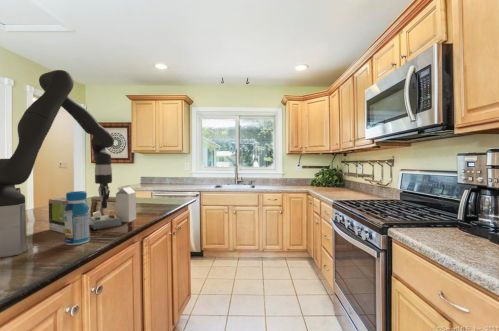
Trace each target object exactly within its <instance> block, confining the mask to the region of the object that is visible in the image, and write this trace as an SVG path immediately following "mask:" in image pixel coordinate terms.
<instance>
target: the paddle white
mask: <svg viewBox="0 0 499 331" xmlns="http://www.w3.org/2000/svg"><path fill="white" fill-rule="evenodd" d="M100 216H103V215H102V212H101V211H98V210H97V211H95V212H92V217H94V218H96V217H100Z"/></svg>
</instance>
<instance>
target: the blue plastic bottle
mask: <svg viewBox="0 0 499 331" xmlns="http://www.w3.org/2000/svg"><path fill="white" fill-rule="evenodd" d="M87 196H88V195H87V191H85V190H84V191H83V190H82V191H79V190H78V191H69V192H66V194H65V197H66V200H67V201H68V204H67V205H66V207H65V209H64V212H65V215H64V220H65V233H64V244H65V245H66V246H78V245H83V244H86V243H88V242H89V241H90V226H89V218H90V217H91V216H90V212H89V209H90V207H89V204H88V203H87V201H86V202H85V200H87Z"/></svg>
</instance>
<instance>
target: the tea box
mask: <svg viewBox="0 0 499 331" xmlns="http://www.w3.org/2000/svg"><path fill="white" fill-rule="evenodd" d="M86 200H87V199H86ZM86 200H85V202H86V203H87V201H86ZM67 204H68V201H67V200H66V196H65V197H57V198H55V197H54V198H48V229H49V230H51V231H54V232H57V233H61V234H65V220H64V215H65V212H64V209H65V207H66V205H67Z"/></svg>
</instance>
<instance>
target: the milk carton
mask: <svg viewBox="0 0 499 331" xmlns="http://www.w3.org/2000/svg"><path fill="white" fill-rule="evenodd" d="M136 196H137V195H136V191H135V190H134V189H133V188H132V187H131V186H130V184H128V185H121V188H120V189H119V191H117V192H116V193H115V211H116V214H115V215H116V216H118V217H119V218H121V223H131V222H134V221H135V220H137V197H136Z"/></svg>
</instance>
